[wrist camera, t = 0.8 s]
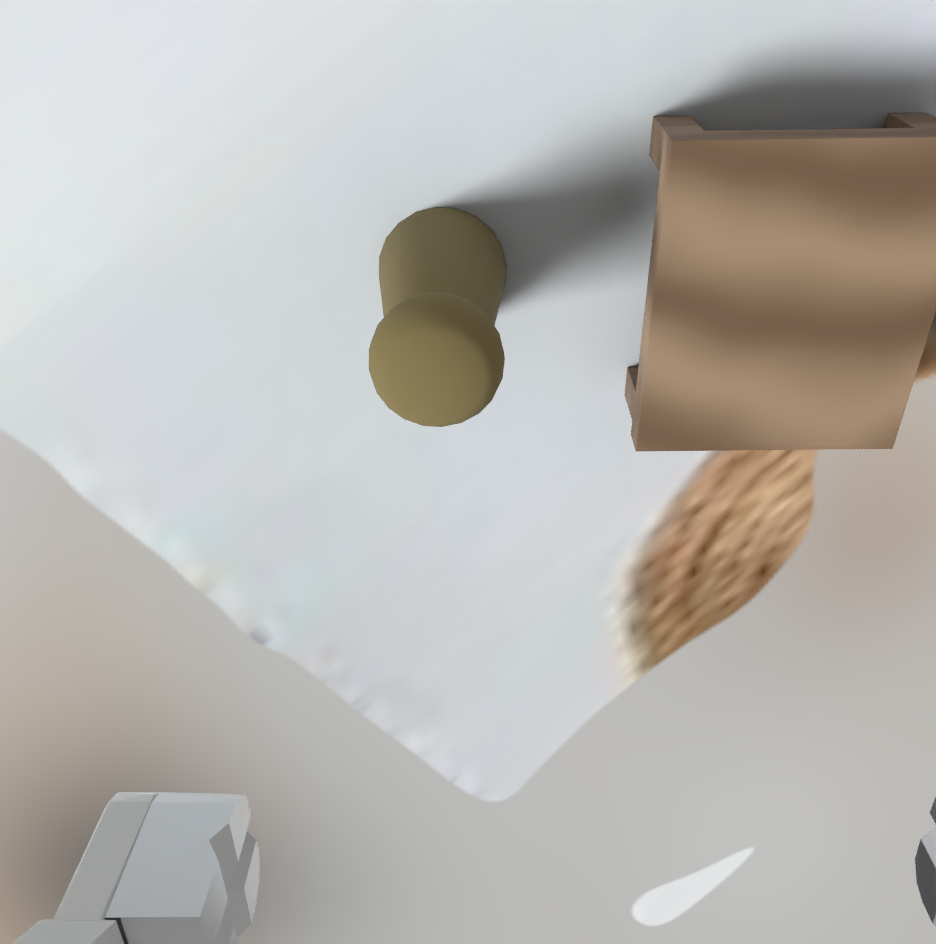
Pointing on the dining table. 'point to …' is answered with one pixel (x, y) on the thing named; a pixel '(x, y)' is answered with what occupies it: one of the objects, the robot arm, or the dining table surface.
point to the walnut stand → (785, 286)
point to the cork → (439, 318)
